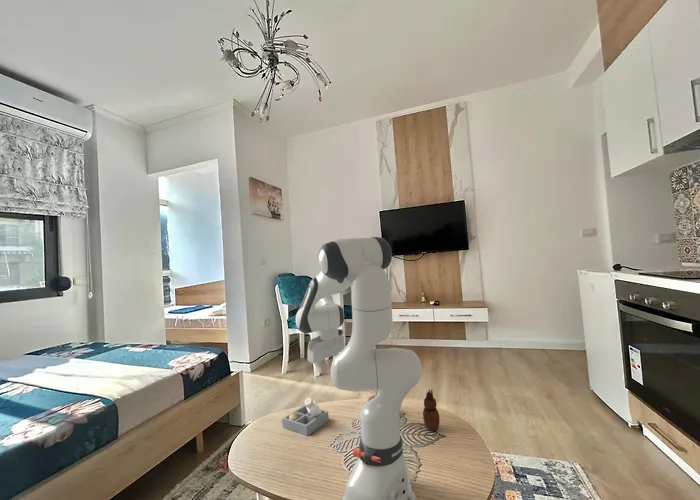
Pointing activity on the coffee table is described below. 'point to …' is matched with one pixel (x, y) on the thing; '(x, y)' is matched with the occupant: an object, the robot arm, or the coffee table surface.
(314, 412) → the pepper shaker
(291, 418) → the brown ball
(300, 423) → the grey compartment tray
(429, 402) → the wooden figurine
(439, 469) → the coffee table surface
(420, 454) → the coffee table surface
